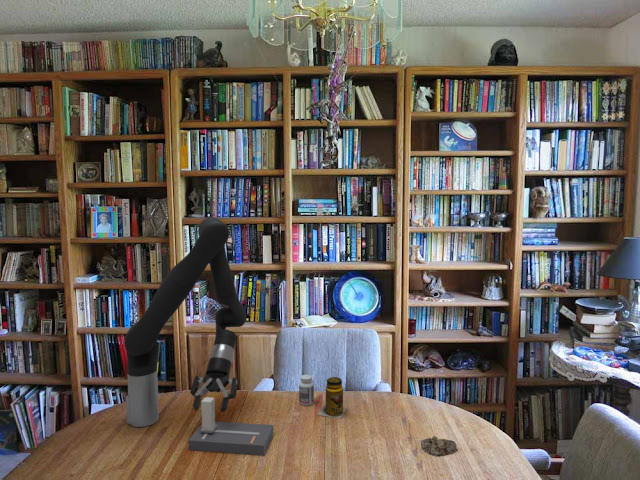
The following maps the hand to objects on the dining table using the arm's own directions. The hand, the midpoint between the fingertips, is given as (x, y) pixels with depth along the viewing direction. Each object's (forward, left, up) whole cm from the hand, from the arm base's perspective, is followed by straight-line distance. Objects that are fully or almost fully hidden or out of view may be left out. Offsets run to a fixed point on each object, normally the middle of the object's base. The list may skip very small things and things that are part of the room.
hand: (209, 410), depth 143 cm
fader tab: (0, -1, -6) cm, 6 cm away
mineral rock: (+70, +3, -10) cm, 71 cm away
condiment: (+36, +22, -10) cm, 43 cm away
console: (+7, -1, -9) cm, 12 cm away
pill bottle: (+26, +28, -10) cm, 40 cm away
